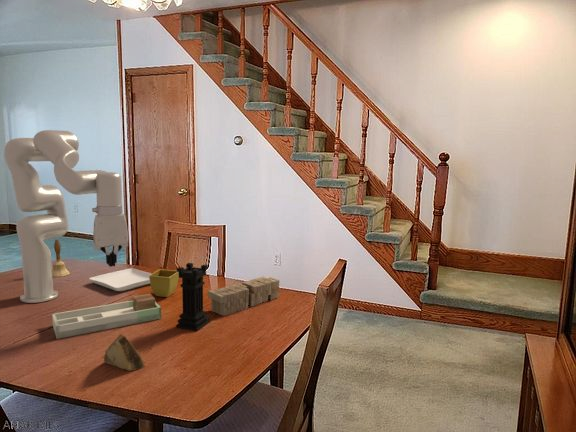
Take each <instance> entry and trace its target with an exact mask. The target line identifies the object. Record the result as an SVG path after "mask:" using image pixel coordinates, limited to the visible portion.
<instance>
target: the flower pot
mask: <svg viewBox="0 0 576 432" xmlns="http://www.w3.org/2000/svg"><path fill="white" fill-rule="evenodd" d="M149 279H150V284H149V285H150V288H151V291H152V292H153V293H152V294H154V295H155V297H162V298H164V297H165V298H168V297H170V296H172V295H173V294H174V292H175V291H176V289H177V287H178V285H179V284H178V283H179V272H177V270H169V269H158V270H156V271H154V272H153V273H151V275H149Z"/></svg>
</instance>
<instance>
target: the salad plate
mask: <svg viewBox="0 0 576 432" xmlns="http://www.w3.org/2000/svg"><path fill="white" fill-rule="evenodd" d="M151 274H152V273H151V272H147V271H144V270H139V269H136V268H130V267H129V268H125V269H121V270H117V271H116V270H115V271H112V272H107V273H103V274H99V275H96V276H92V277H89V278H88V279H89V281H90V282H92V283H93V284H96V285H99V286H101V287H103V288H104V287H105V288H107V289H109V290H113V291H115V292H125V291H129V290H133V289H136V288H140V287H143V286H146V285H150V279H149V275H151Z"/></svg>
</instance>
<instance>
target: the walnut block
mask: <svg viewBox="0 0 576 432" xmlns="http://www.w3.org/2000/svg"><path fill="white" fill-rule="evenodd" d="M132 300H133V309H134V310H135V311H140V310H145V309H151V308H155V302H156V298H155V297H154V296H153V295H152V294H151V293H146V294H140V295H139V294H138V295H133V296H132Z"/></svg>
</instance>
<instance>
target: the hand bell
mask: <svg viewBox="0 0 576 432" xmlns="http://www.w3.org/2000/svg"><path fill="white" fill-rule="evenodd" d="M53 246H54V247H53V248H54V252H55V259H56V261H55V262H53V265H52V278H62V277H66V276H69V275H71V273H70V271H69V270H68V269H67V268H66V265H65V262H64V261H62V259H61V250H62V249H61V248H62V246H61V243H60V240H59V239H55V240H54V244H53Z"/></svg>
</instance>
